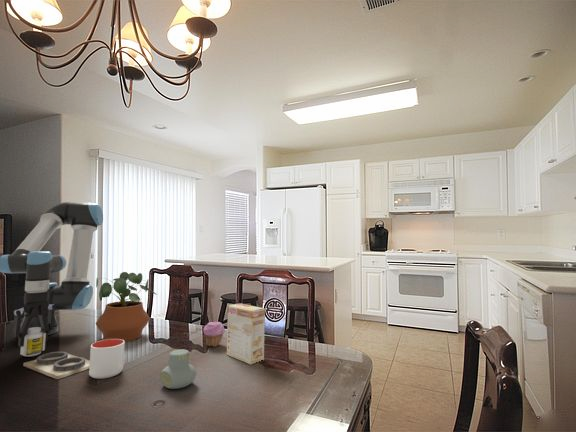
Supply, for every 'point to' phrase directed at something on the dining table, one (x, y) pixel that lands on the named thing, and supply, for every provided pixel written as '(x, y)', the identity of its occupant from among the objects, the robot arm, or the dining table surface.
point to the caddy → (58, 364)
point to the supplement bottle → (34, 341)
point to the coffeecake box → (246, 332)
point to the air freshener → (178, 370)
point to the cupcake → (213, 333)
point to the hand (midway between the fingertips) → (32, 352)
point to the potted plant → (123, 309)
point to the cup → (106, 358)
